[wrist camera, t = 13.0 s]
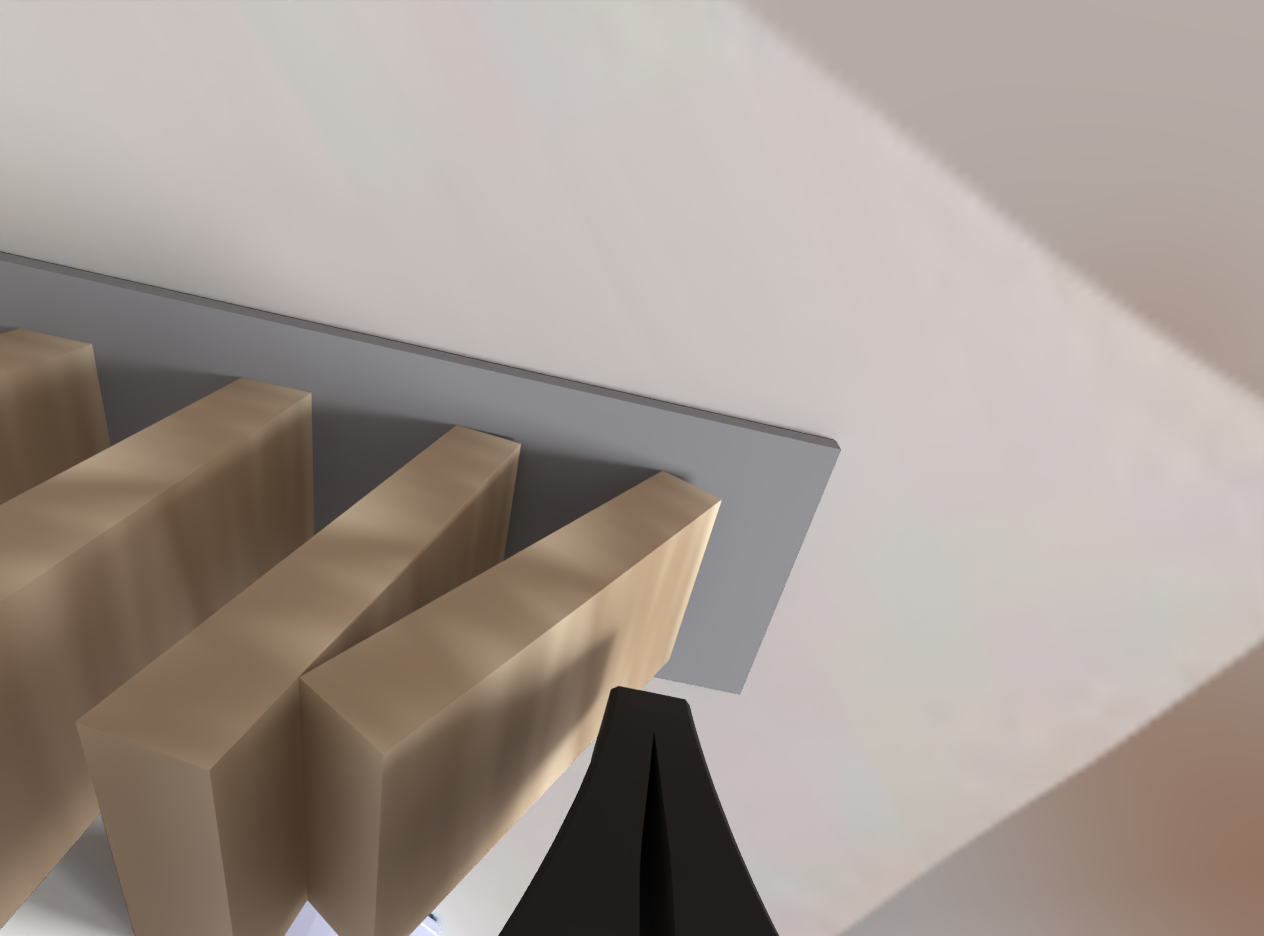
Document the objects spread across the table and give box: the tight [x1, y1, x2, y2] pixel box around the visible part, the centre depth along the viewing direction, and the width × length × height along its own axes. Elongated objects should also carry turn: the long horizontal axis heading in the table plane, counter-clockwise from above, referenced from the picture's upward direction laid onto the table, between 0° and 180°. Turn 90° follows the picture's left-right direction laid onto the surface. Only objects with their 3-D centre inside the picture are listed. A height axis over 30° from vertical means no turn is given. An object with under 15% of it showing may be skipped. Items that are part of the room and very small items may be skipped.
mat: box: [0, 252, 841, 695], centre depth 16 cm, size 26×8×1 cm, turn 78°
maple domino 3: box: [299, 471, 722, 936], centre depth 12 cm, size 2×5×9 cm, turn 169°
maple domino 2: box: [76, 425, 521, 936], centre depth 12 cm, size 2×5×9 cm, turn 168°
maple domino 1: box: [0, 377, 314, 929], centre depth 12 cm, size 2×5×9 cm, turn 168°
